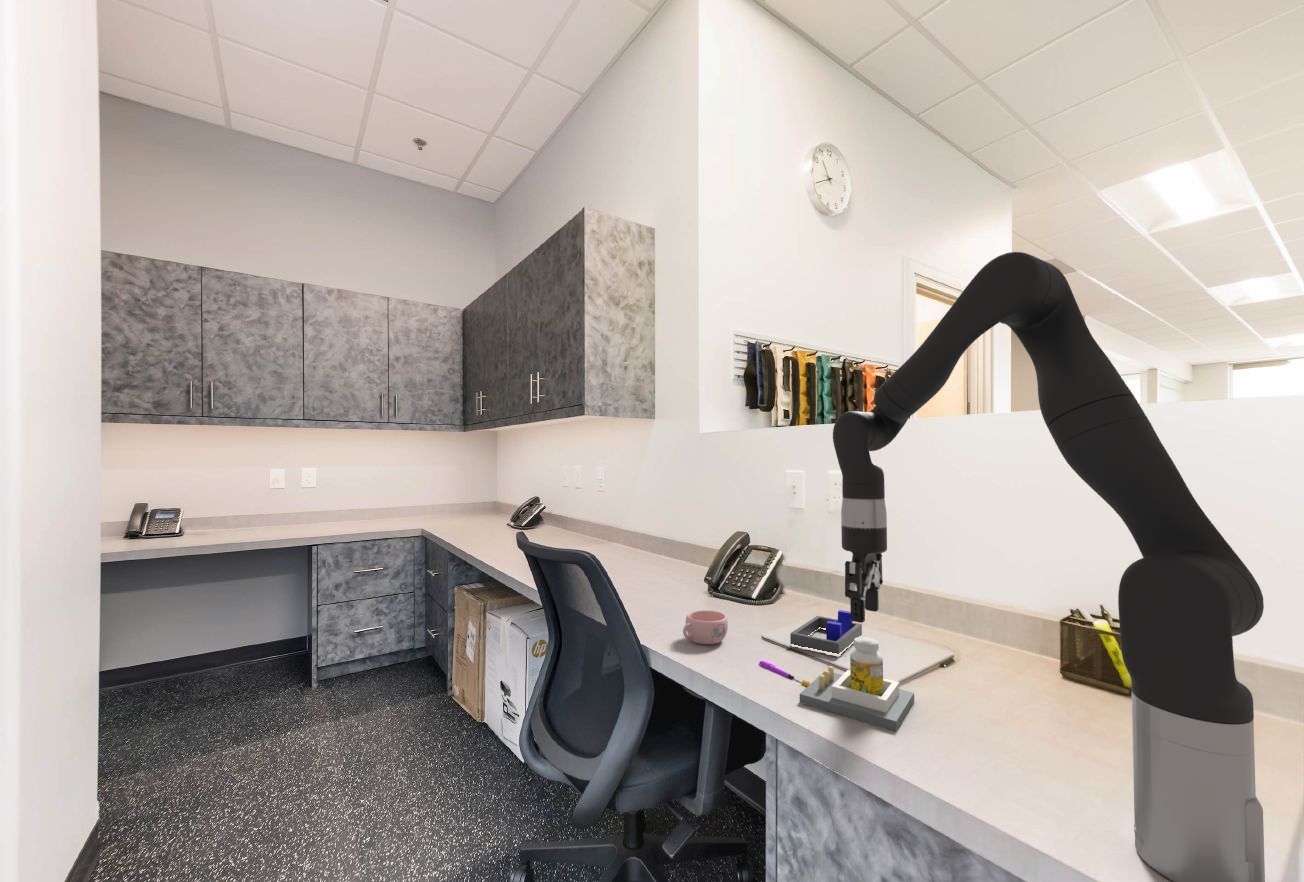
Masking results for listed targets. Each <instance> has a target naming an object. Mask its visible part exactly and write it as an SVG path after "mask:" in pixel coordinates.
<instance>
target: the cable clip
mask: <svg viewBox="0 0 1304 882" xmlns="http://www.w3.org/2000/svg"><path fill="white" fill-rule="evenodd" d="M837 620H838V621H837V622H835V621H833V622H831V621H828V622H827V623H826V633H825V634H826V638H825V639H827V640H832V641H837V640H838V639H839V638H840V637H842V636H843V635H844V634H845V633H846V632H848V631H849V630H850V629H851V628H852V622H853V621H852V620H851V611H849V610H842V609H841V610H840V609H839V610H838V611H837Z"/></svg>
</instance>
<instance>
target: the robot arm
mask: <svg viewBox="0 0 1304 882" xmlns="http://www.w3.org/2000/svg"><path fill="white" fill-rule="evenodd" d="M999 323H1001V324H1003V325H1006V326H1008V327H1009V328H1010V329H1011V330H1012V332H1013V333H1014V334H1015V335H1016V337H1017V339H1018V340H1019V341H1020V343H1021V344H1022V346H1023V348H1025V351H1026V352H1027V354H1028V356H1029V357H1030V359H1031V362H1032V364H1033V366H1034V370H1035V373H1036V382H1037V396H1038V403H1039V409H1040V412H1041V416H1042V419H1043V421H1044V423H1045V425H1046V428H1047V429H1048V431H1049V433H1050V435H1051V438H1052V439H1053V441H1054V443H1055V445H1056V446H1057V449H1058V450H1059V453H1060V454H1061V455H1062V458H1063V459H1064V460H1065V461H1066V463H1067V464H1068V466H1069V467H1070V468H1071V469H1072V470H1073V471H1074V473H1076V475H1078V477H1079V478H1080V479H1082V481H1083V482H1084V483H1085V484H1086V485H1087V486H1088V487H1090V489H1092V490H1093V491H1094V492H1095V493H1096V494H1097V495H1098V496H1099V497H1100V498H1102V500H1104V502H1105V503H1106V504H1108V505H1109V506H1110V507H1111V509H1112V510H1113V511H1114V512H1115V513H1116V514H1117V515H1118V516H1119V518H1121V520H1122V521H1123V523H1124V524H1125V526H1126V527H1127V529H1128V531H1129V532H1130V534H1131V536H1132V538H1133V540H1134V542H1135V543H1136V545H1137V547H1138V550H1139V551H1140V553H1141V556H1142V558H1140V559H1137V560H1136V561H1133V562H1132V563H1131V564H1129V565H1128V567H1127V568H1126V569H1125V570H1124V572H1123V573H1122V576H1121V578H1120V580H1119V586H1118V595H1117V597H1118V598H1117V599H1118V600H1117V607H1118V619H1119V621H1118V622H1119V635H1120V637H1119V638H1120V647H1121V657H1122V661H1123V663H1124V666H1125V669H1126V671H1127V672H1128V675H1129V677H1130V681H1131V717H1132V718H1131V719H1132V720H1131V721H1132V722H1131V724H1132V730H1131V731H1132V765H1133V766H1132V767H1133V810H1134V811H1133V812H1134V813H1133V814H1134V822H1133V823H1134V824H1133V831H1134V847H1135V850H1136V852H1137V854H1138V855H1139V856H1140V858H1141V859H1142V860H1143V861H1144V862H1145V863H1146V864H1147V865H1148V866H1150V867H1151V868H1152V869H1154V870H1155V871H1156V872H1157V873H1158V874H1159V873H1160V875H1162V876H1164V877H1165V878H1167V879H1169V880H1171V881H1172V882H1266V867H1265V836H1264V835H1265V834H1264V832H1265V830H1264V826H1265V825H1264V808H1263V806H1262V803H1260V801H1259V799H1258V797H1257V795H1256V794H1257V793H1256V792H1257V791H1256V766H1255V765H1256V762H1255V761H1256V759H1255V757H1256V756H1255V726H1254V724H1255V723H1254V722H1255V721H1254V718H1255V716H1254V715H1255V712H1254V711H1255V710H1254V696H1253V695H1252V693H1251V690H1250V689H1249V688H1248V687H1247V686H1246V685H1244V684H1243V682H1240V681H1238V679H1237V676H1236V671H1235V658H1234V655H1235V654H1234V646H1233V645H1234V643H1233V641H1234V640H1233V637H1236V636H1239V635H1242V634H1244V633H1247V632H1249V631H1250V630H1252V629H1253V628H1254V627H1256V625H1257V624H1258V623H1259V622H1260V621H1261V618H1262V617H1263V613H1264V607H1265V605H1264V596H1263V592H1262V590H1261V587H1260V585H1259V583H1258V582H1257V580H1256V579H1255V577H1254V575H1253V574H1252V573H1251V570H1249V568H1248V567H1247V566H1246V564H1245V563H1244V561H1243V560H1241V559H1242V558H1240V557H1239V556H1238V554H1237V553H1236V551H1234V549H1233V548H1232V546H1231V545H1230V544H1229V543H1228V542H1227V540H1226V539H1225V537H1224V536H1223V535H1222V534H1221V532H1220V531H1219V530H1218V529H1217V528H1216V527H1215V525H1214V524H1213V522H1212V521H1211V520H1210V518H1209V516H1207V514H1206V513H1205V512H1204V510H1203V509H1202V508H1201V506H1200V505H1199V504H1198V502H1197V501H1196V498H1194V496H1193V494H1192V492H1191V491H1190V489H1189V487H1188V485H1187V484H1186V482H1185V480H1184V478H1183V476H1182V474H1181V472H1180V470H1179V469H1178V467H1177V466H1176V464H1175V462H1174V461H1173V458H1171V456H1170V454H1169V453H1168V451H1167V450H1166V448H1165V447H1164V445H1163V443H1162V441H1161V439H1160V438H1159V436H1158V434H1157V433H1156V430H1155V429H1154V427H1153V425H1152V422H1151V421H1150V419H1149V418H1148V416H1147V415H1146V414H1145V411H1144V410H1143V408H1142V407H1141V405H1140V403H1139V402H1138V400H1137V398H1136V397H1135V395H1134V393H1133V392H1132V391H1131V389H1130V388H1129V386H1128V385H1127V383H1126V382H1125V380H1124V379H1123V378H1122V377H1121V375H1120V373H1119V372H1118V370H1117V369H1116V367H1115V366H1114V364H1113V363H1112V361H1111V360H1110V358H1109V357H1108V356H1107V354H1106V353H1105V352H1104V350H1103V349H1102V348H1101V346H1100V345H1099V344H1098V343H1097V341H1096V339H1095V338H1094V337H1093V335H1092V333H1091V332H1090V330H1089V328H1088V325H1087V324H1086V321H1085V319H1084V317H1083V315H1082V311H1081V310H1080V307H1079V304H1078V303H1077V301H1076V298H1075V295H1074V293H1073V291H1072V288H1071V285H1070V284H1069V281H1068V280H1067V278H1066V276H1065V275H1064V274H1063V272H1062V271H1061V269H1059V268H1058V267H1056V266H1055V265H1054V264H1051V263H1050V262H1047V261H1045V260H1044V259H1040V258H1038V257H1036V256H1035V255H1032V254H1030V253H1026V252H1022V251H1011V252H1010V251H1009V252H1006V253H1002V254H999V255H997V256H996V257H994V258H993V259H990V260H989V261H988V262H987V263H986V264H985V265H984V266H983V267H982V268H980V270H979V271H978V272H977V273H976V275H974V276H973V278H972V279H971V281H969V283H968V284H967V285H966V287H964V289H963V290H962V292H961V293H960V295H959V296H958V297H957V299H956V300H955V302H954V303H953V304H952V305H951V307H950V308H949V310H947V312H945V314H944V316H942V318H941V319H940V321H939V322H938V324H936V326H935V327H934V328H933V330H932V331H931V332H930V334H929V335H928V336H927V337H926V338H925V340H924V341H923V342H922V343H921V344H920V346H919V347H918V348H917V349H916V351H915V352H914V353H912V354H911V356H909V358H908V359H907V360H906V361H905V362H904V363H903V364H902V365H901V366H900V367H898V369H897V370H895V372H893V374H891V376H889V377H888V378H887V379H886V380H885V381H884V382H883V383H882V384H881V385H880V386H879V387H878V388H877V390H876V391H875V393H874V395H873V401H874V404H875V406H874V407H873V408H872V409H871V410H870V411H859V410H858V411H856V410H855V411H854V410H851V411H850V410H849V411H846V412H843V413H842V414H840V415H839V416H838V417H837V419H836V420H835V423H834V425H833V429H832V442H833V447H834V451H835V454H836V458H837V462H838V465H839V469H840V472H841V475H842V480H841V482H842V483H841V485H842V487H841V489H842V491H841V492H842V500H841V501H842V502H841V511H840V514H841V515H840V516H841V517H840V520H841V522H840V523H841V527H840V528H841V548H842V549H843V550H844V551H845V552H850V553H852V556H851V557H852V558H851V561H849V560H846V561H845V563H844V597H845V598H848V599H850V601H849V602H850V603H849V604H850V608H849V609H850V612H851V620H852V622H853V623H859V624H863V623H864V622H865V621H866V611H870V612H874V613H875V612H877V611H879V610H880V607H879V605H880V604H879V602H880V601H879V590H880V589H881V586H882V585H883V583H884V580H883V554H884V553H885V552H887V550H888V525H887V523H888V521H887V520H888V519H887V518H888V517H887V516H888V515H887V507H886V497H885V496H886V495H885V494H886V493H885V491H886V489H885V488H886V487H885V474H884V470H883V468H882V467H880V466H878V465H876V464H874V463H873V462H872V458H871V454H870V452H876V451H879V450H881V449H883V448H885V447H887V446H888V445H889V444H890V443H891V442H892V441H893V440H894V439H895V438H896V437H897V436H898V435H899V433H900V432H901V430H902V429H903V427H904V426H905V425H906V423H907V422H908V420H909V419H910V417H911V416H913V415H914V414H916V412H918V411H919V410H920V409H921V408H923V407H924V405H925V404H927V403H928V402H929V401H931V399H933V398H934V397H935V396H936V395H937V394H938V393H939V392H940V391H941V389H942V388H944V386H945V385H946V383H947V382H948V380H949V379H950V376H951V375H952V373H953V371H954V370H955V367H956V366H957V364H958V362H959V360H960V359H961V357H962V355H964V353H965V352H966V350H967V349H968V348H969V347H970V346H971V345H972V344H973V343H974V342H975V341H977V339H979V338H980V337H981V336H982V335H983V334H985V333H986V332H988V331H989V330H990V329H992V328H993V327H995V326H996V325H998V324H999ZM882 553H883V554H882ZM855 589H856V590H855Z"/></svg>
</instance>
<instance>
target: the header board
mask: <svg viewBox="0 0 1304 882" xmlns="http://www.w3.org/2000/svg"><path fill="white" fill-rule="evenodd" d="M834 668H835V667H834V666H832V665H830V666H829V665H828V666H827V670H825V669H824V670H823V672H822V673H821V674H819V675H818V676H817V677H816V679H814V680H813V681H812V682H811V684H810V685H809V686H808V687H805V688H804V690H802V691H801V692H799V703H800V704H804V705H807V706H810V707H814V708H817V709H820V710H821V709H822V710H824V711H827V712H830V713H833V714H838V715H841V716H844V717H847V718H851V719H854V720H858V721H862V722H865V723H869V724H871V725H875V726H879V727H882V728H885V729H888V730H891V731H898V728H900V725H901V724H902V722H903V720H904V719H905V717H906V716H907V714H908V712H909V710H910V709H911V708H912V706H913V704H914V702H915V692H913V691H909V690H905V689H901V688H900V682H899V681H896V680H891V679H887V678H884V677H883V695H882V696H877V695H873V694H869V693H865V692H861V691H858V690H854V689H851V669H847V670H846V671H845V672H844V673H843V674H840V673H837V672H835V669H834Z"/></svg>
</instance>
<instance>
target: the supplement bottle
mask: <svg viewBox="0 0 1304 882" xmlns="http://www.w3.org/2000/svg"><path fill="white" fill-rule="evenodd" d="M853 646H854V649H852V650H851V652H850V655H849V658H850V659H849V660H850V663H849V664H850V668H849V670H851V689H854V690H858V691H861V692H865V693H869V694H873V695H877V696H882V695H883V678H884V657H883V656H882V654H881V653H880V652H878V651H879V649H880V647H879V641H878V640H877V639H875V638H871V637H866V636H862V637H857V638H855V639H854V644H853Z"/></svg>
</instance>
